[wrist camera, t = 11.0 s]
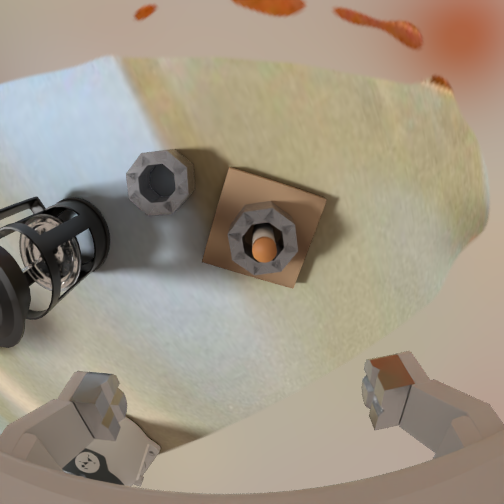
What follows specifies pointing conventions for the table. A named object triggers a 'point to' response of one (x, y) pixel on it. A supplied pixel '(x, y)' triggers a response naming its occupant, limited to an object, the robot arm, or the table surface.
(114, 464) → the robot arm
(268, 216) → the grey octagonal nut
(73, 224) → the french press
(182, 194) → the grey octagonal ring
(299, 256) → the keeper
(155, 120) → the table surface
